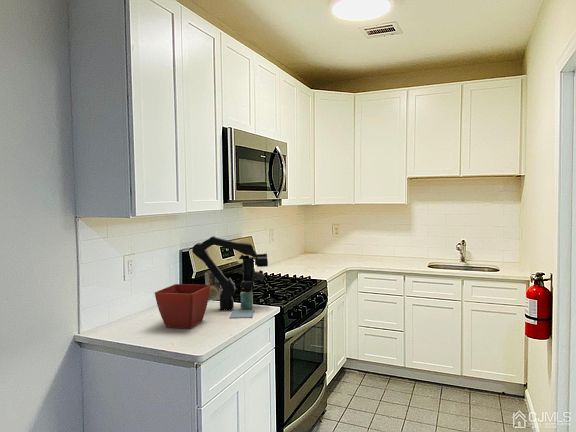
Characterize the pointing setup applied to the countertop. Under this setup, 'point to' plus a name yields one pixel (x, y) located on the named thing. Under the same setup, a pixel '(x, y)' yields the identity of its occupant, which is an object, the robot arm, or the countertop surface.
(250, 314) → the mat
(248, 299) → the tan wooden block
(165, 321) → the plant pot
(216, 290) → the coffee box
